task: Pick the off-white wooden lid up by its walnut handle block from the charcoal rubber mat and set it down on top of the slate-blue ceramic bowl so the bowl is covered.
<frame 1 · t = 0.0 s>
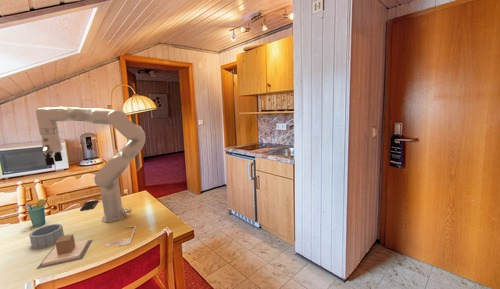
hand: (54, 163, 124), 37 cm above the table, tool pointing down, fingers open, 9 cm apart
bowl: (48, 242, 114), on the table
mat: (67, 254, 104), on the table
photo frame: (117, 238, 116), on the table
lid: (67, 253, 103), point 1 cm above the table, touching mat
cup: (38, 226, 132), on the table
phone: (89, 206, 157), on the table
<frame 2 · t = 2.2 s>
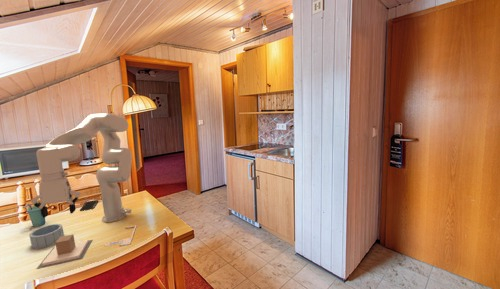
hand: (59, 214, 100), 19 cm above the table, tool pointing down, fingers open, 9 cm apart
nothing on the table moved.
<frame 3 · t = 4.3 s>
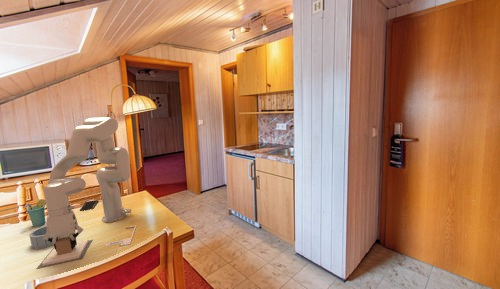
hand: (66, 248, 103), 3 cm above the table, tool pointing down, fingers closed on lid, 4 cm apart
lid: (67, 253, 103), point 1 cm above the table, touching gripper, mat
everything else where it was.
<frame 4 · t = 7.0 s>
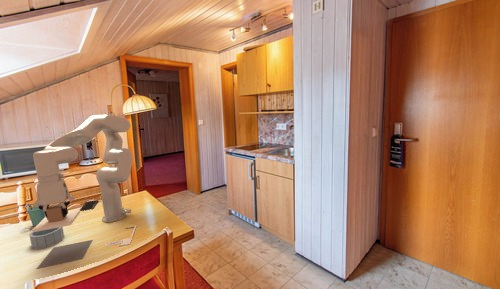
hand: (57, 216, 103), 17 cm above the table, tool pointing down, fingers closed on lid, 4 cm apart
lid: (58, 221, 103), point 15 cm above the table, touching gripper
everything else where it was.
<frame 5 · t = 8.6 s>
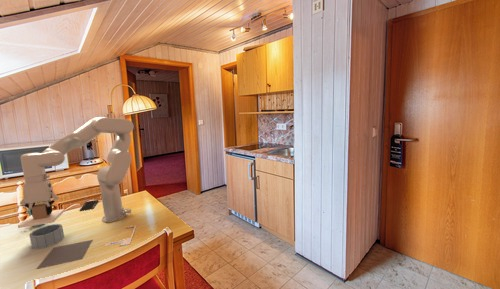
hand: (42, 214, 111), 15 cm above the table, tool pointing down, fingers closed on lid, 4 cm apart
lid: (43, 218, 112), point 13 cm above the table, touching gripper
everything else where it was.
when the fingers open (10 cm above the table, at t = 9.8 s): lid stays where it is, resting on bowl.
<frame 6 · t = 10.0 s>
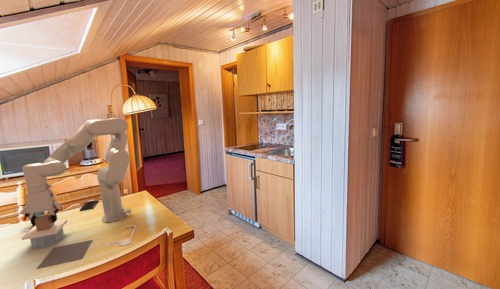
hand: (44, 223, 112), 10 cm above the table, tool pointing down, fingers open, 7 cm apart
lid: (46, 230, 113), point 6 cm above the table, touching bowl
everything else where it was.
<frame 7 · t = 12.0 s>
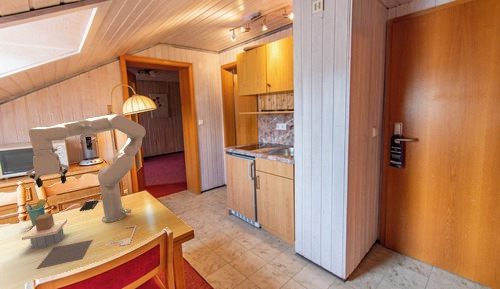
hand: (52, 184, 117), 27 cm above the table, tool pointing down, fingers open, 9 cm apart
nothing on the table moved.
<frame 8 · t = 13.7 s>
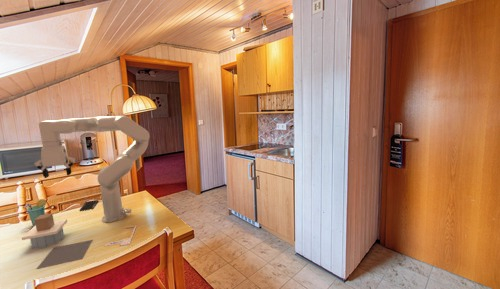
hand: (58, 176, 122), 30 cm above the table, tool pointing down, fingers open, 9 cm apart
nothing on the table moved.
at the end: lid 0.0 cm off-centre on the bowl, point 6.5 cm above the bowl's base; lid tilted 0°; the gripper is holding nothing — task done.
